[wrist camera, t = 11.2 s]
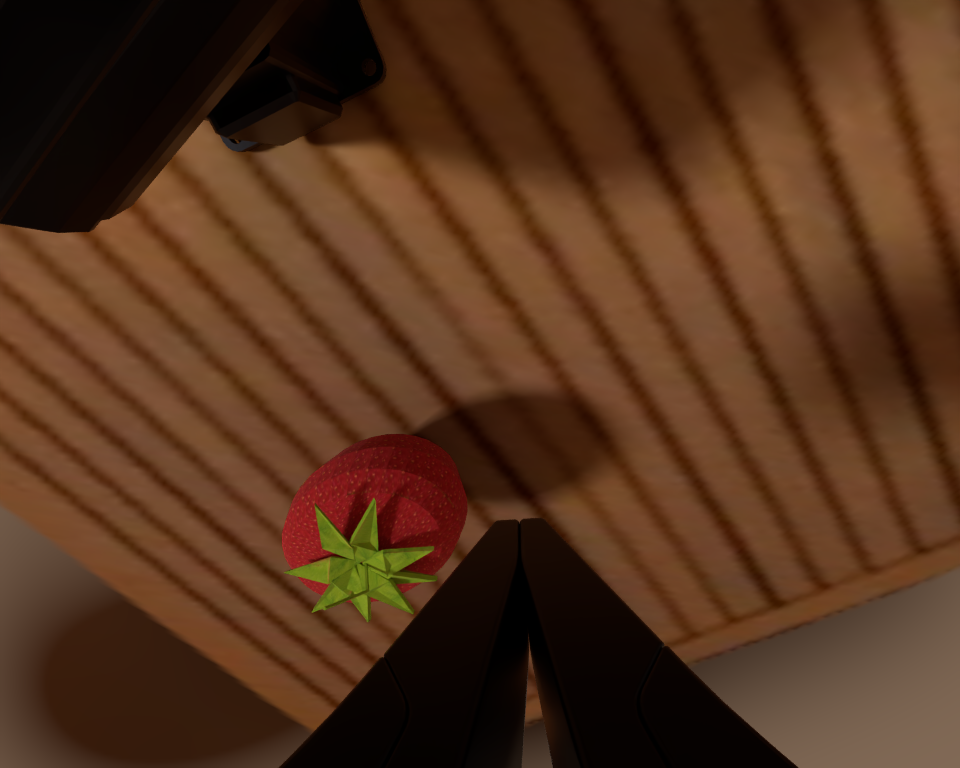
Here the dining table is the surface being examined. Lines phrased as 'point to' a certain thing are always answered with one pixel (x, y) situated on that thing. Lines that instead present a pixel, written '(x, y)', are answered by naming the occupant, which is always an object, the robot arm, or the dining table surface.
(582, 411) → the dining table surface
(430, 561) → the strawberry
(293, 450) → the dining table surface
